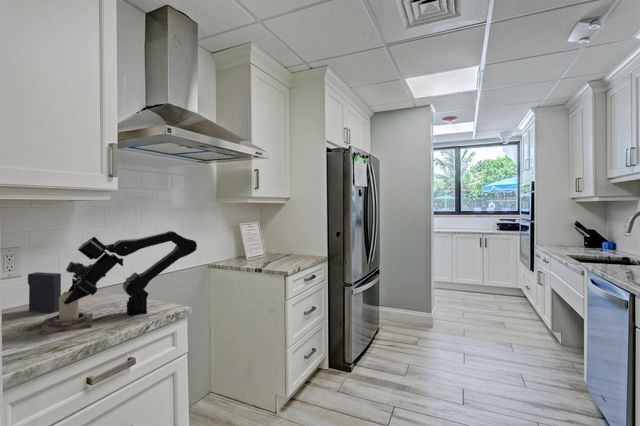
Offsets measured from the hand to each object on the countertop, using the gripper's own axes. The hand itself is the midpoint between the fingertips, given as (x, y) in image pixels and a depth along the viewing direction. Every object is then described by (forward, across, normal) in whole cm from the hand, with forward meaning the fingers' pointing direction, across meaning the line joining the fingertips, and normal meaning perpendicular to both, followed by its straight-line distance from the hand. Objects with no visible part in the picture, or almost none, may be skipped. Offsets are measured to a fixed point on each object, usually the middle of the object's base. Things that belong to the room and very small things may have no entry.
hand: (64, 301), depth 116 cm
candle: (+4, 0, +6) cm, 7 cm away
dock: (+5, 0, +7) cm, 8 cm away
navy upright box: (+9, -23, +3) cm, 25 cm away
